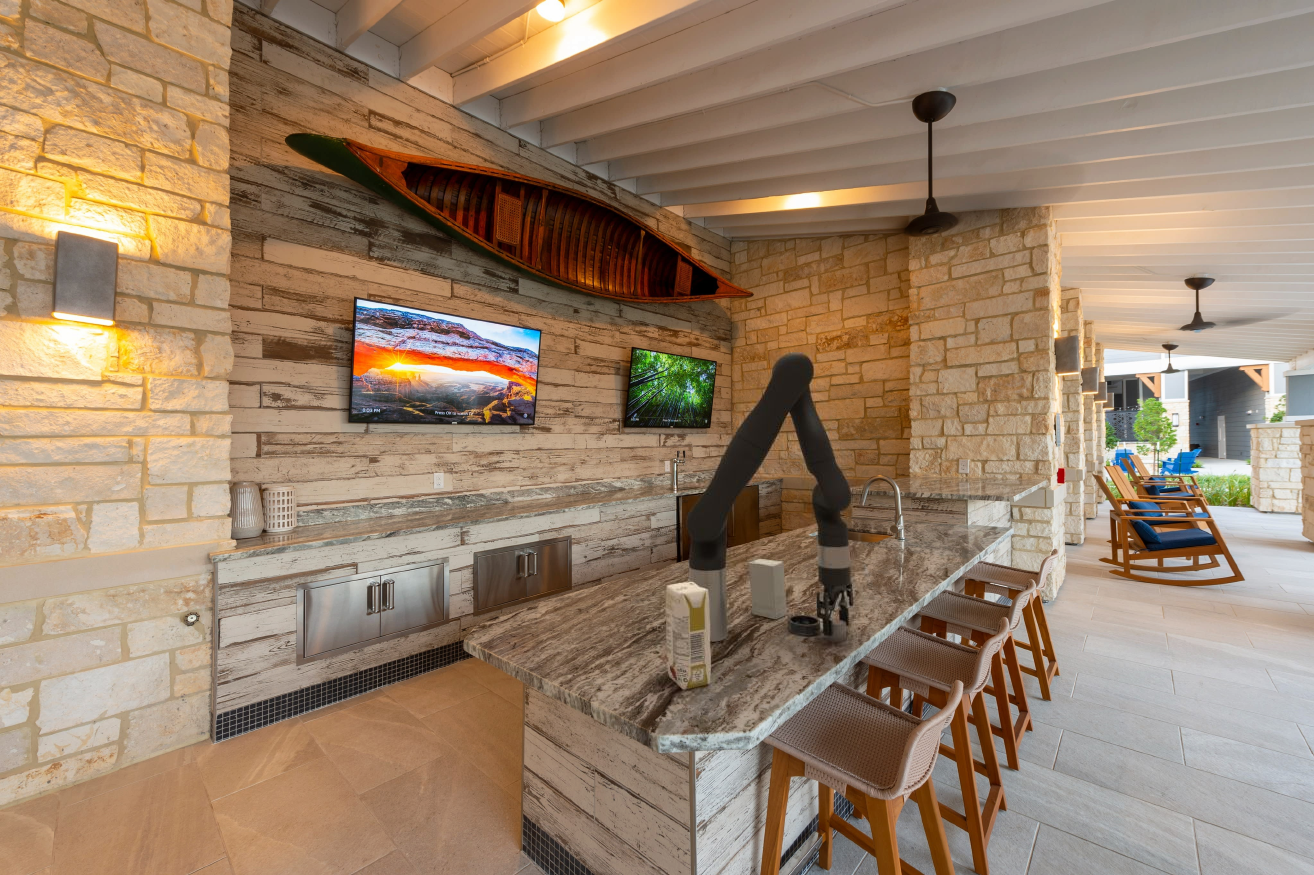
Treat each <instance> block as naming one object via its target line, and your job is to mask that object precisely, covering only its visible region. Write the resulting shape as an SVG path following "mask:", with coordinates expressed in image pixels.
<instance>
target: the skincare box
mask: <svg viewBox="0 0 1314 875" xmlns="http://www.w3.org/2000/svg"><path fill="white" fill-rule="evenodd" d="M748 570H749V585H750V598H751V600H750V601H751V614H752V615H756V616H760V617H765V618H769V619H773V620H778V619H780V618H783V617H786V616H787V615H788V609H787V596H786V594H787V593H786V581H785V567H784V561H782V560H772V559H771V560H770V559H764V558H758V559H755V560H752V561H749V562H748Z"/></svg>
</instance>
